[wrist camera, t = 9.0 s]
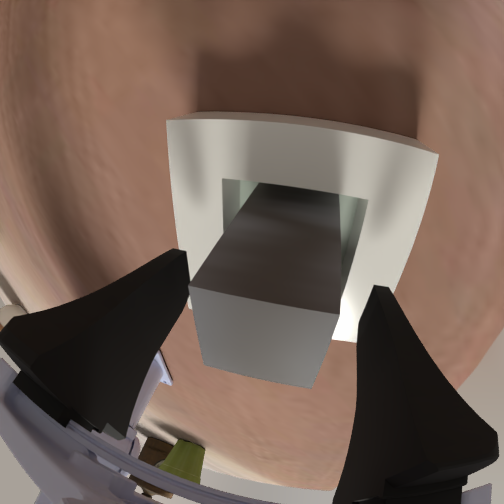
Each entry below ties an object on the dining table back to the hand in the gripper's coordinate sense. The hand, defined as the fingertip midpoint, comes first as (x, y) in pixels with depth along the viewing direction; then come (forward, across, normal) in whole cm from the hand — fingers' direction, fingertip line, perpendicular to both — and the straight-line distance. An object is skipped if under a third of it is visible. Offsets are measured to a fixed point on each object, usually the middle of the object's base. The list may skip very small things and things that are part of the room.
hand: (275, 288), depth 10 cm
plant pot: (+6, +16, +64) cm, 66 cm away
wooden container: (+6, +28, +85) cm, 90 cm away
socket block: (+6, 0, 0) cm, 6 cm away
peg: (+5, 0, 0) cm, 5 cm away
